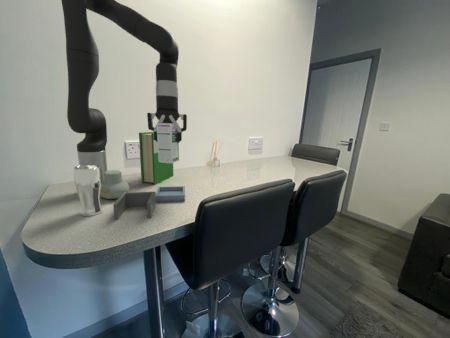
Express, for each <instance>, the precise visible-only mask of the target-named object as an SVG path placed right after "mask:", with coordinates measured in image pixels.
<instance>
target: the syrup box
mask: <svg viewBox="0 0 450 338" xmlns="http://www.w3.org/2000/svg"><path fill="white" fill-rule="evenodd" d="M156 125H157V141H158V159H159V162H160V163H171V164H172V163H173V164H174V163H176V162H177V163H178V162H179V161H180V151H179V150H180V149H179V148H180V147H179V145H180V143H178V130H177V129H176V127H175V126H174V124H172V123H159V124H157V123H156Z"/></svg>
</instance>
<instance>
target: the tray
mask: <svg viewBox="0 0 450 338" xmlns="http://www.w3.org/2000/svg"><path fill="white" fill-rule="evenodd" d="M155 193H156V203H173V202H176V203H177V202H185V201H186V199H185V198H186V186H184V185H183V186H181V185H180V186H177V185H176V186H158V187H157V189H156V191H155Z"/></svg>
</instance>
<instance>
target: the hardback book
mask: <svg viewBox="0 0 450 338" xmlns="http://www.w3.org/2000/svg"><path fill="white" fill-rule="evenodd" d="M138 140H139V143H138V144H139V158H140V159H139V160H140V179H141V184H145V183H153V185H157V184H160V183H162V182H164V181H166V180H168V179H170V178H171V177H173V176H174V163H172V164H171V163H160V162H159V159H158V142H156V141H155V140H154V131H144V132H138Z"/></svg>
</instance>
